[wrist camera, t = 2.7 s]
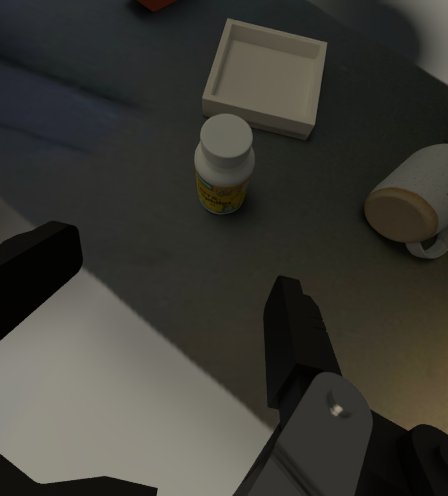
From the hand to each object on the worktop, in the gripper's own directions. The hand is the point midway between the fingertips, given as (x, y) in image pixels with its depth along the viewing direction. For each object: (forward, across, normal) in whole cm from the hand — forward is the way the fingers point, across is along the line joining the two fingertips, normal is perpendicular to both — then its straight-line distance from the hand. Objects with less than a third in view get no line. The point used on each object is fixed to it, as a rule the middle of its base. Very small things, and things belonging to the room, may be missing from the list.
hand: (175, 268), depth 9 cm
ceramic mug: (+20, -22, +1) cm, 30 cm away
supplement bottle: (+18, 0, +3) cm, 19 cm away
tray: (+30, -2, -10) cm, 32 cm away
